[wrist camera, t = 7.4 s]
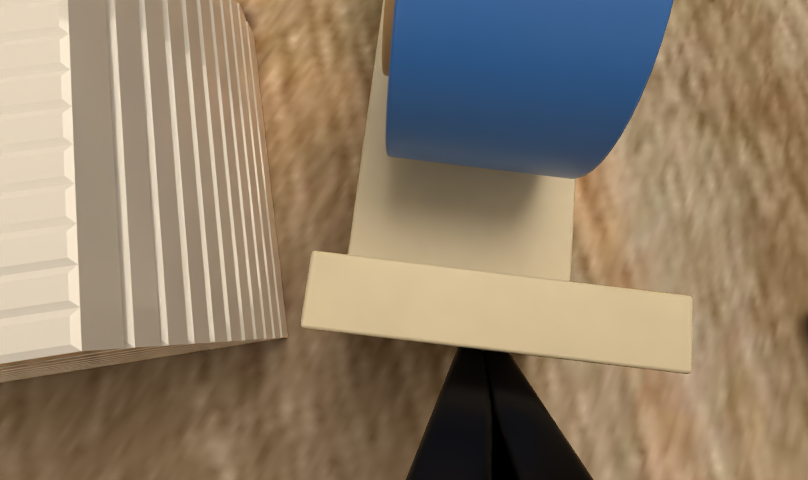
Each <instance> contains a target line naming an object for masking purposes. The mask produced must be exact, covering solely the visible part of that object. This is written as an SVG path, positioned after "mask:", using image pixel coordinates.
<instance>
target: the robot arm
mask: <svg viewBox="0 0 808 480" xmlns="http://www.w3.org/2000/svg"><path fill="white" fill-rule="evenodd" d="M406 480H593V478H592V477H591V475H590V474H589V472H588V471H587V469H586V468H585V466H584V465H583V463H582V462H581V460H580V459H579V457H578V456H577V454H576V453H575V451H574V450H573V448H572V447H571V445H570V444H569V442H568V441H567V439H566V438H565V436H564V435H563V433H562V432H561V430H560V429H559V427H558V426H557V424H556V423H555V421H554V420H553V418H552V417H551V415H550V414H549V412H548V411H547V409H546V408H545V406H544V405H543V403H542V402H541V400H540V399H539V397H538V396H537V394H536V393H535V391H534V390H533V388H532V387H531V385H530V384H529V382H528V381H527V379H526V378H525V376H524V375H523V373H522V372H521V370H520V369H519V367H518V366H517V364H516V363H515V361H514V360H513V358H512V357H511V355H510V354H509V353H507V352H499V351H490V350H482V349H474V348H465V347H458V348H457V351H456V353H455V356H454V358H453V361H452V363H451V366H450V368H449V371H448V373H447V376H446V379H445V381H444V384H443V386H442V389H441V391H440V394H439V396H438V399H437V402H436V404H435V407H434V409H433V412H432V414H431V417H430V419H429V422H428V425H427V427H426V430H425V432H424V435H423V437H422V440H421V442H420V445H419V448H418V450H417V453H416V455H415V458H414V460H413V463H412V465H411V468H410V471H409V473H408V476H407V478H406Z"/></svg>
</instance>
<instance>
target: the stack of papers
mask: <svg viewBox="0 0 808 480" xmlns="http://www.w3.org/2000/svg"><path fill="white" fill-rule="evenodd" d="M286 337H288V333H287V324H286V315H285V306H284V297H283V288H282V279H281V271H280V262H279V253H278V244H277V235H276V226H275V217H274V209H273V200H272V191H271V182H270V173H269V164H268V155H267V146H266V138H265V129H264V120H263V111H262V102H261V93H260V84H259V75H258V67H257V58H256V49H255V40H254V35H253V33H252V30H251V28H250V26H249V24H248V22H246V20H245V15H244V13H243V11H242V9H241V7H240V4H239V3H237V0H0V383H2V382H8V381H14V380H21V379H27V378H33V377H40V376H46V375H52V374H59V373H65V372H71V371H78V370H84V369H90V368H97V367H103V366H109V365H116V364H122V363H128V362H135V361H141V360H147V359H154V358H160V357H166V356H173V355H179V354H185V353H192V352H198V351H204V350H211V349H217V348H223V347H229V346H236V345H242V344H248V343H255V342H261V341H267V340H274V339H280V338H286Z"/></svg>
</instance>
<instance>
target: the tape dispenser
mask: <svg viewBox="0 0 808 480" xmlns="http://www.w3.org/2000/svg"><path fill="white" fill-rule="evenodd" d="M672 4H673V0H383V5H382V12H381V19H380V26H379V34H378V41H377V48H376V55H375V62H374V69H373V76H372V84H371V91H370V98H369V105H368V112H367V119H366V127H365V134H364V141H363V148H362V155H361V162H360V169H359V177H358V184H357V191H356V198H355V205H354V212H353V219H352V227H351V234H350V241H349V248H348V254H339V253H331V252H323V251H313V252H312V254H311V258H310V265H309V271H308V278H307V284H306V291H305V297H304V304H303V310H302V317H301V323H300V324H301V327H303V328H306V329H314V330H322V331H331V332H339V333H348V334H356V335H364V336H373V337H381V338H390V339H398V340H406V341H415V342H423V343H432V344H440V345H448V346H457V347H465V348H474V349H482V350H490V351H499V352H507V353H516V354H524V355H532V356H541V357H549V358H558V359H566V360H574V361H583V362H591V363H599V364H608V365H616V366H625V367H633V368H641V369H650V370H658V371H667V372H675V373H683V374H689V373H691V371H692V304H693V299H692V297H690V296H688V295H680V294H672V293H664V292H655V291H647V290H639V289H630V288H622V287H614V286H605V285H597V284H589V283H580V282H572V281H570V274H571V256H572V238H573V220H574V202H575V183H576V178H579V177H582V176H585V175H587V174H588V173H590V172H591V171H593V170H594V169H595V168H596V167H597V166H598V165H599V164H600V163H601V162H602V161H603V160H604V159H605V157H606V156H607V155H608V154H609V152H610V151H611V150H612V148H613V147H614V145H615V144H616V142H617V141H618V139H619V138H620V136H621V135H622V133H623V131H624V129H625V127H626V126H627V124H628V122H629V120H630V119H631V117H632V115H633V112H634V110H635V108H636V106H637V104H638V102H639V100H640V98H641V96H642V93H643V91H644V88H645V86H646V84H647V81H648V79H649V76H650V74H651V72H652V69H653V66H654V63H655V60H656V57H657V55H658V52H659V49H660V46H661V43H662V40H663V36H664V33H665V30H666V26H667V23H668V20H669V16H670V12H671V8H672Z"/></svg>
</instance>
